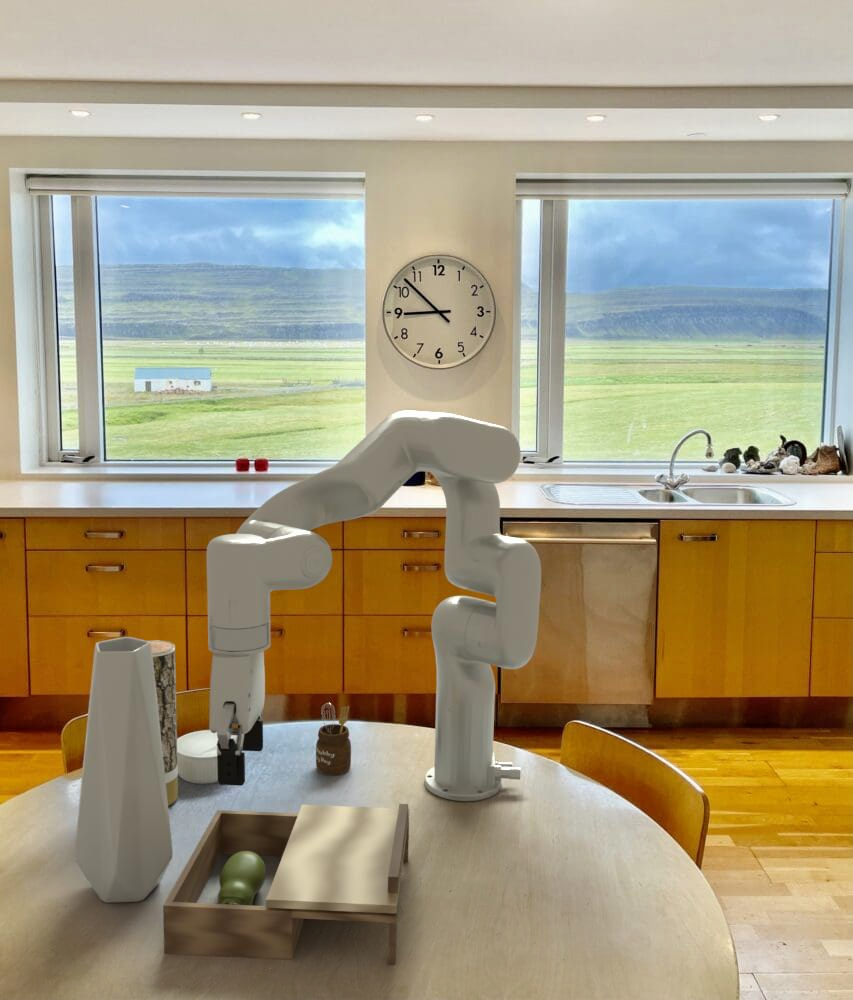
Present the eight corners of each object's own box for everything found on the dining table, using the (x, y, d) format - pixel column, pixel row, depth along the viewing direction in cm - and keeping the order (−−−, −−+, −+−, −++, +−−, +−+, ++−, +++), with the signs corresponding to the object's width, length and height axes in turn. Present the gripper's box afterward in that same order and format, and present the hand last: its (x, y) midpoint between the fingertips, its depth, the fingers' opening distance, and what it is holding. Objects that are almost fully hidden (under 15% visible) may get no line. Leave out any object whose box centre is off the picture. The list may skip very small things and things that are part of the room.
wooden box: (408, 858, 128) (409, 818, 127) (395, 964, 106) (396, 916, 105) (217, 850, 130) (217, 810, 129) (164, 953, 107) (163, 905, 106)
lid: (409, 815, 127) (409, 795, 127) (396, 913, 105) (396, 889, 104) (302, 811, 128) (302, 791, 128) (266, 907, 105) (265, 883, 105)
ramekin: (232, 788, 148) (232, 757, 148) (164, 786, 149) (163, 755, 148) (247, 759, 160) (246, 730, 159) (183, 757, 160) (182, 728, 159)
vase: (74, 873, 123) (65, 636, 118) (163, 857, 127) (158, 627, 122) (78, 925, 112) (68, 665, 107) (176, 904, 116) (170, 654, 111)
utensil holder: (336, 758, 160) (337, 692, 159) (359, 770, 156) (359, 702, 154) (308, 767, 156) (309, 700, 155) (330, 780, 152) (331, 711, 150)
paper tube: (165, 814, 139) (161, 655, 136) (124, 808, 141) (119, 651, 137) (185, 793, 146) (182, 642, 142) (146, 789, 147) (142, 638, 144)
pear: (269, 843, 121) (251, 898, 111) (270, 877, 122) (252, 933, 113) (227, 841, 121) (205, 895, 112) (229, 874, 123) (208, 930, 113)
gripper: (227, 615, 121) (229, 737, 124) (188, 656, 104) (191, 797, 107) (283, 616, 121) (284, 739, 124) (253, 658, 104) (255, 800, 107)
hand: (241, 766), depth 115 cm, fingers open, 9 cm apart
